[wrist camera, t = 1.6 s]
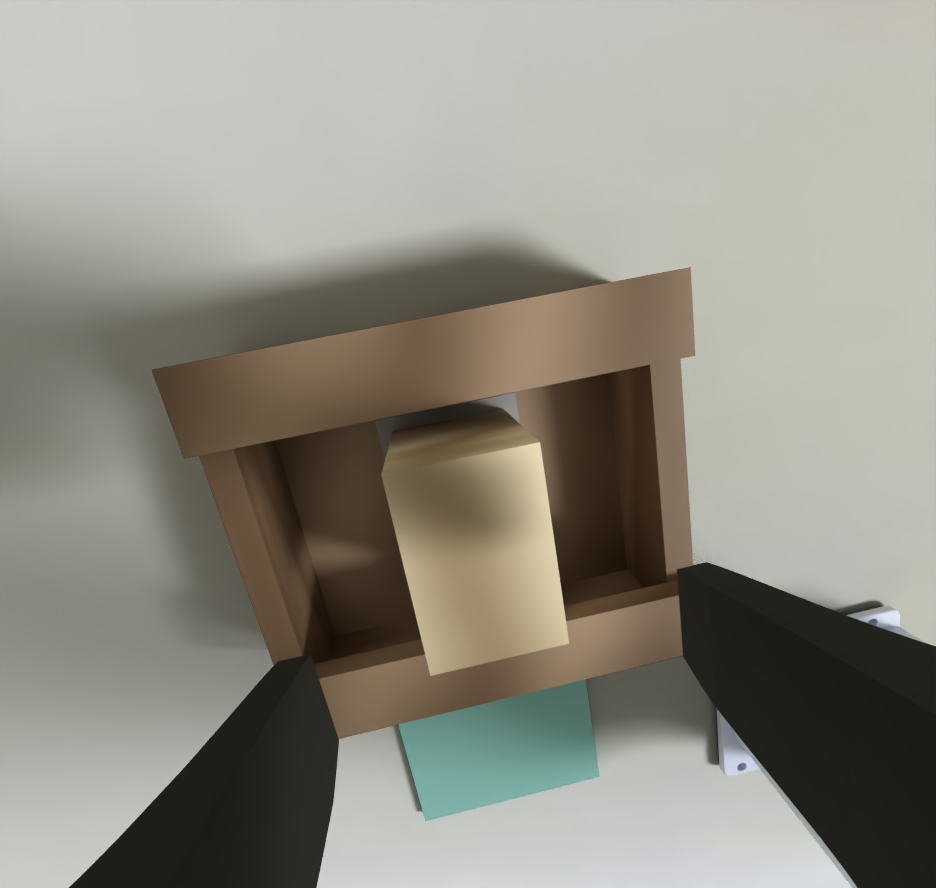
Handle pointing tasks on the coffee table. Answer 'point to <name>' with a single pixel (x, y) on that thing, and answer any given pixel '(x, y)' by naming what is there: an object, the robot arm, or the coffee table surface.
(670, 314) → the slotted box
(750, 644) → the robot arm
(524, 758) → the teal mat
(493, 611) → the maple block
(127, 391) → the coffee table surface
